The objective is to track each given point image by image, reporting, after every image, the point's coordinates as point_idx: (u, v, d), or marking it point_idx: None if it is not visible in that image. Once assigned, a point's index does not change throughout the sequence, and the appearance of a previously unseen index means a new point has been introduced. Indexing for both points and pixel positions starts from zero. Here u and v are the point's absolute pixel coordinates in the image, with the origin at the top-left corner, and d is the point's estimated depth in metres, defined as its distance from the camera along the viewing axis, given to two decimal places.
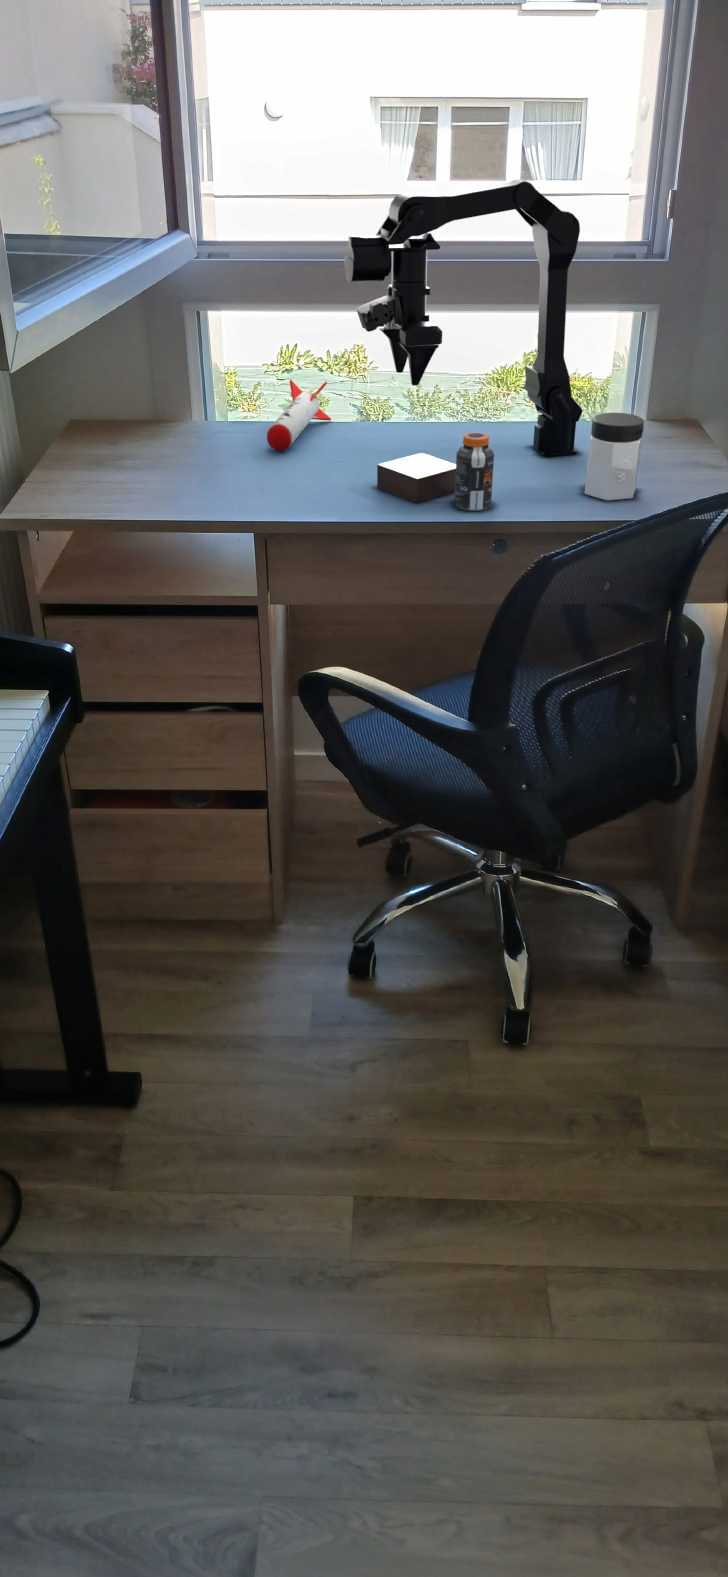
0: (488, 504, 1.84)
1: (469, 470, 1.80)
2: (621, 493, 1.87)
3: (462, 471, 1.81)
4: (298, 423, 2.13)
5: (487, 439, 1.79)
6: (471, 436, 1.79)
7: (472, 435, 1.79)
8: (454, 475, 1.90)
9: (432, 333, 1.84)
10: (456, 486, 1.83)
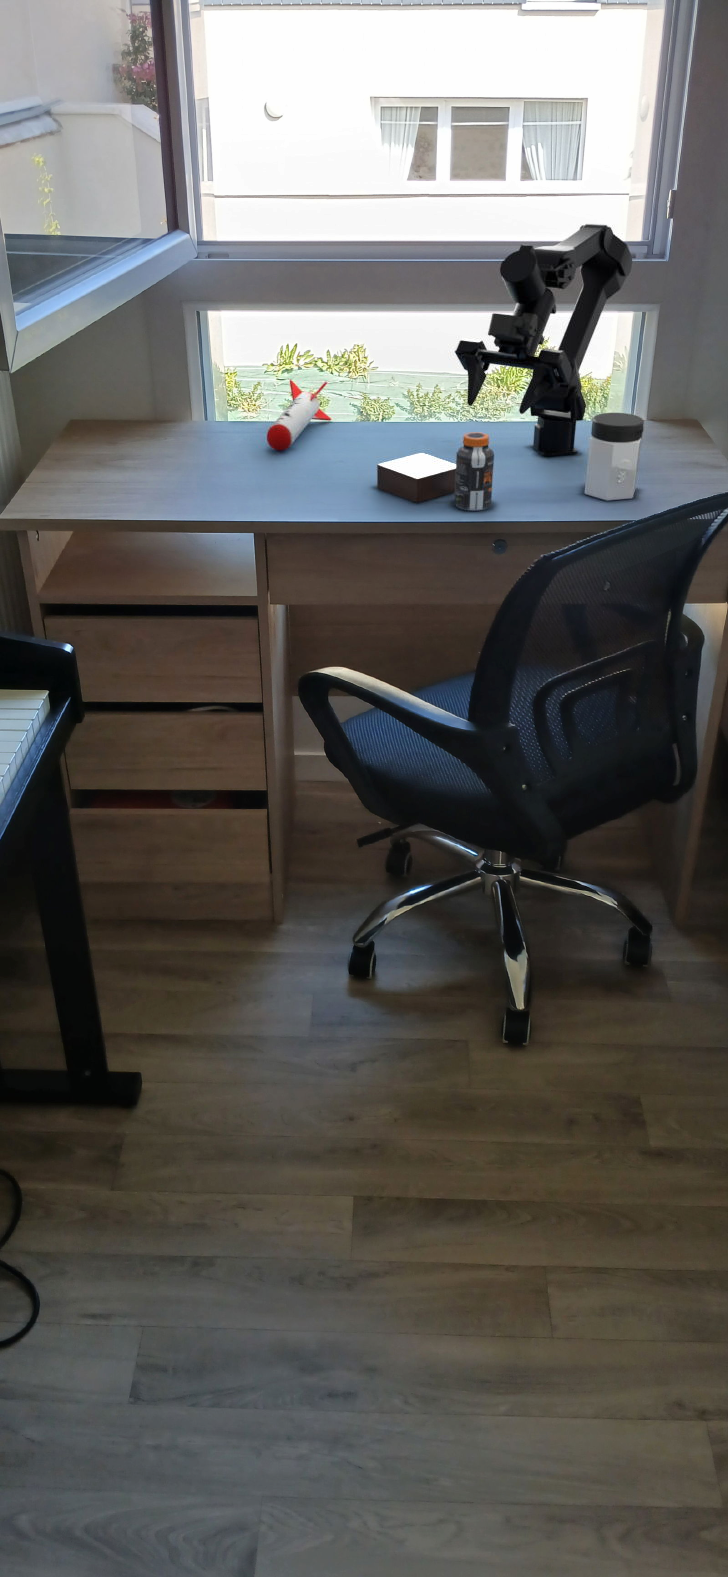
0: (488, 504, 1.84)
1: (469, 470, 1.80)
2: (621, 493, 1.87)
3: (462, 470, 1.81)
4: (298, 423, 2.13)
5: (487, 439, 1.79)
6: (471, 436, 1.79)
7: (472, 435, 1.79)
8: (454, 475, 1.90)
9: (569, 369, 1.82)
10: (456, 486, 1.83)
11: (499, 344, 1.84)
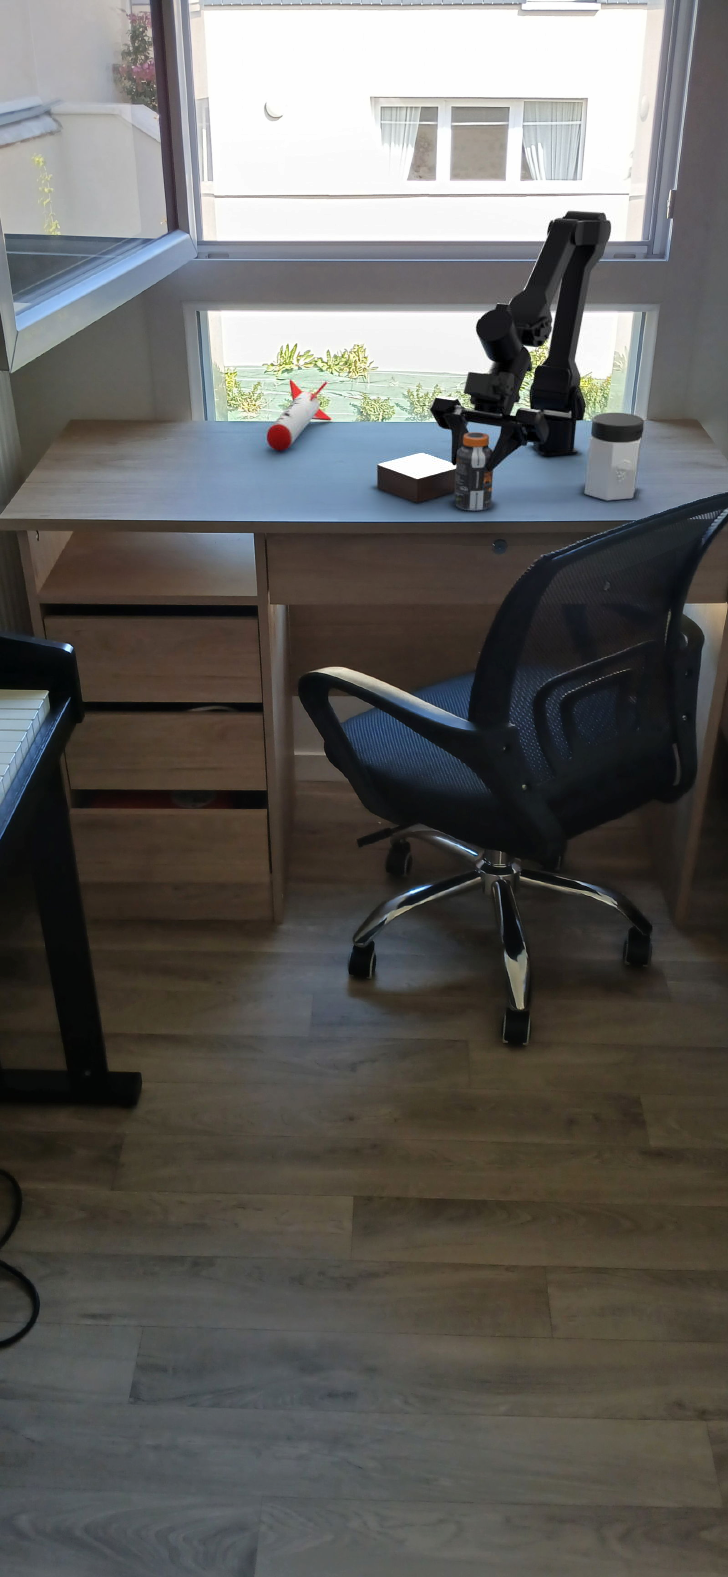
0: (488, 504, 1.84)
1: (469, 470, 1.80)
2: (621, 493, 1.87)
3: (462, 471, 1.81)
4: (298, 423, 2.13)
5: (487, 439, 1.79)
6: (471, 436, 1.79)
7: (472, 435, 1.79)
8: (454, 475, 1.90)
9: (546, 428, 1.79)
10: (456, 486, 1.83)
11: (475, 402, 1.81)
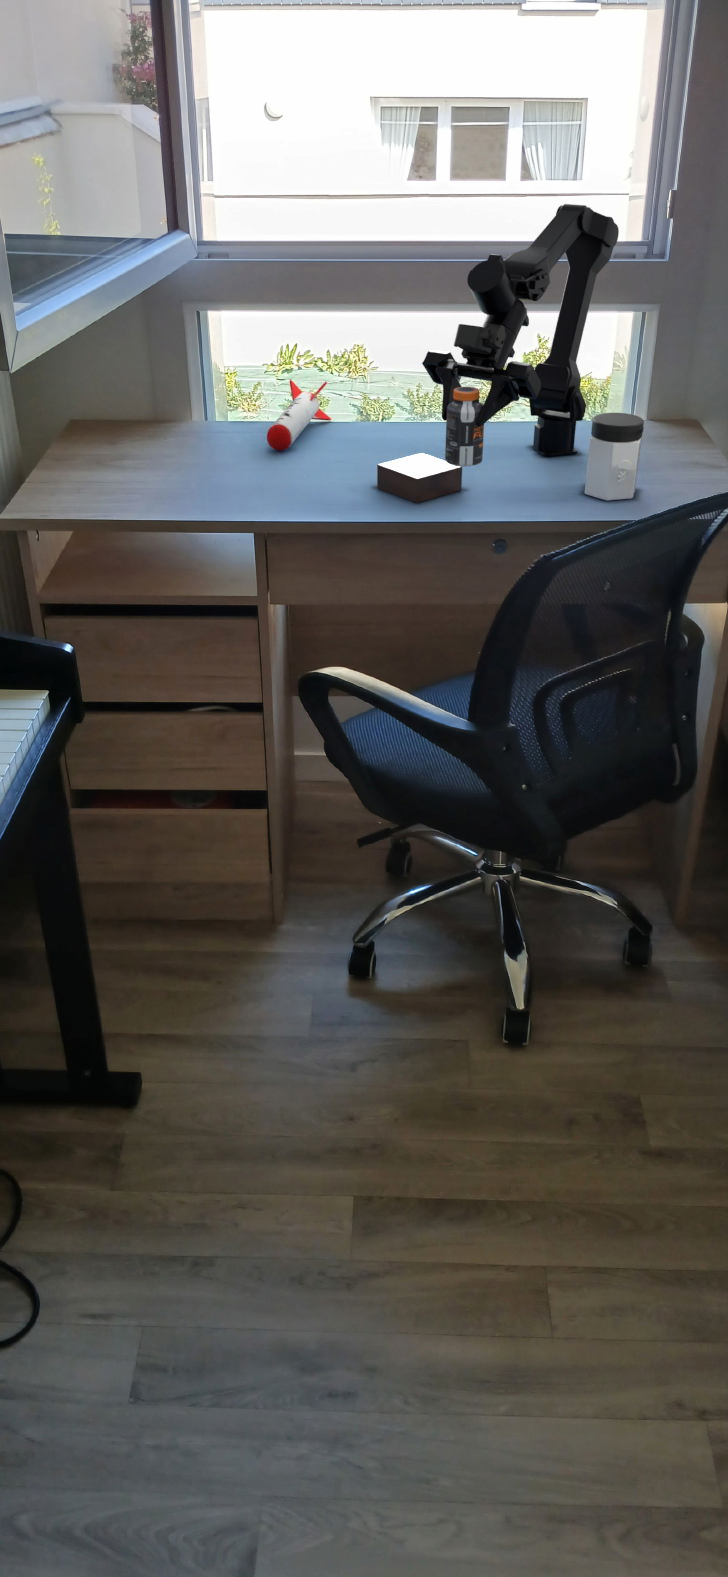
0: (478, 460, 1.81)
1: (458, 425, 1.78)
2: (621, 493, 1.87)
3: (452, 425, 1.78)
4: (298, 423, 2.13)
5: (477, 393, 1.76)
6: (461, 390, 1.77)
7: (462, 389, 1.77)
8: (454, 475, 1.90)
9: (538, 383, 1.76)
10: (446, 441, 1.81)
11: (467, 356, 1.78)
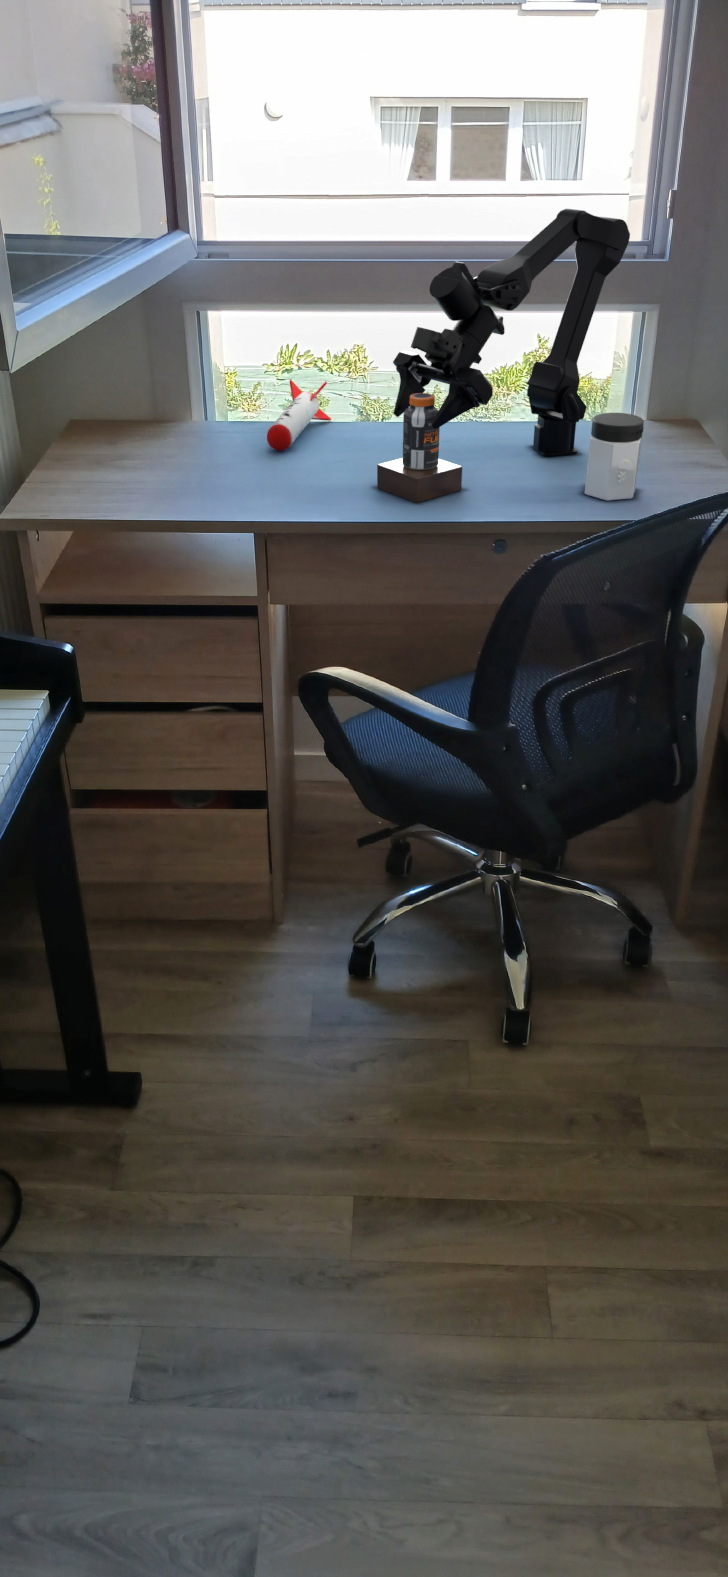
0: (430, 465, 1.88)
1: (409, 429, 1.85)
2: (621, 493, 1.87)
3: (405, 429, 1.86)
4: (298, 423, 2.13)
5: (430, 400, 1.83)
6: (416, 396, 1.84)
7: (416, 395, 1.84)
8: (454, 475, 1.89)
9: (489, 389, 1.80)
10: None
11: (429, 359, 1.85)
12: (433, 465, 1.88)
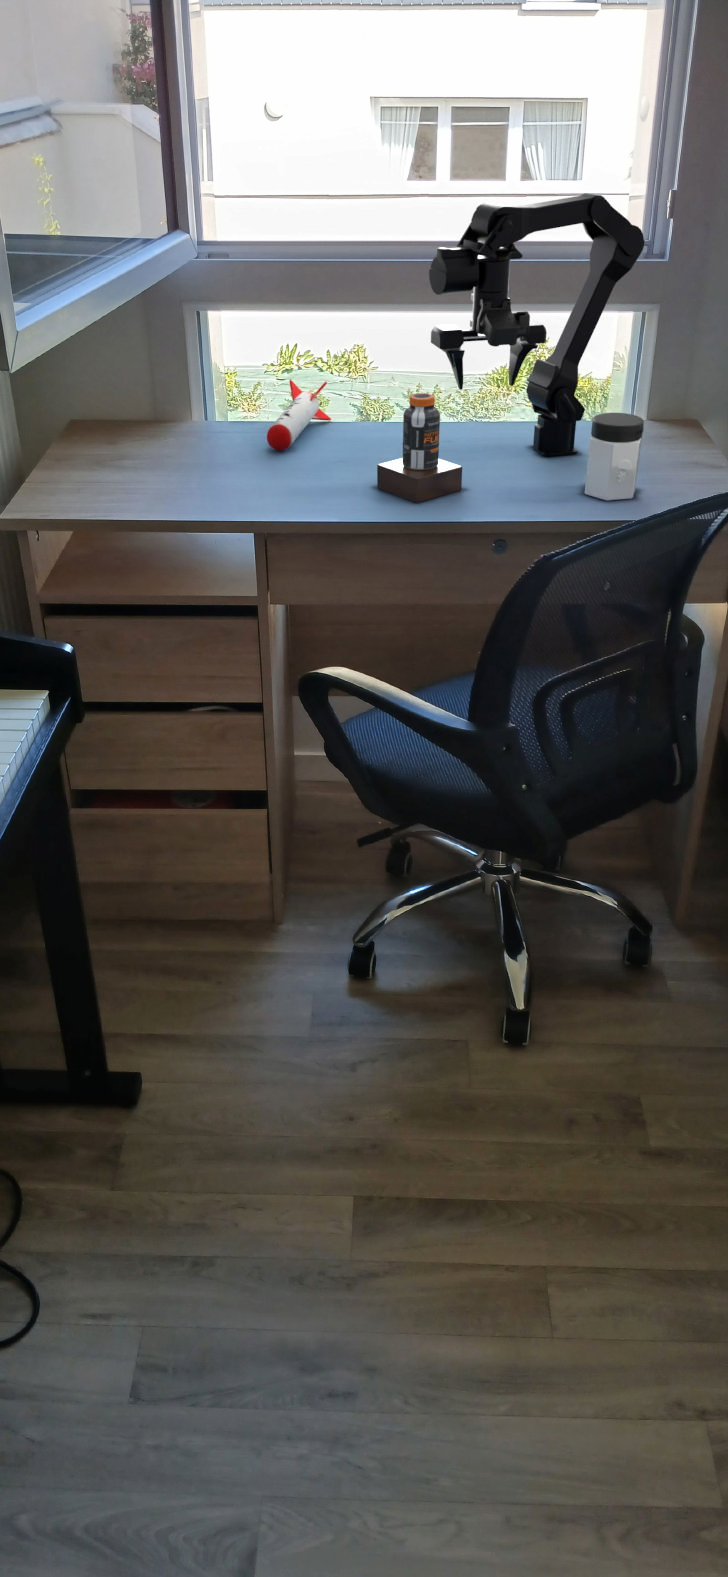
0: (430, 465, 1.88)
1: (409, 429, 1.85)
2: (621, 493, 1.87)
3: (405, 429, 1.86)
4: (298, 423, 2.13)
5: (430, 400, 1.83)
6: (415, 396, 1.84)
7: (416, 395, 1.84)
8: (454, 475, 1.89)
9: None
10: None
11: (483, 332, 1.90)
12: (433, 465, 1.88)
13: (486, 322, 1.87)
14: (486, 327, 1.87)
